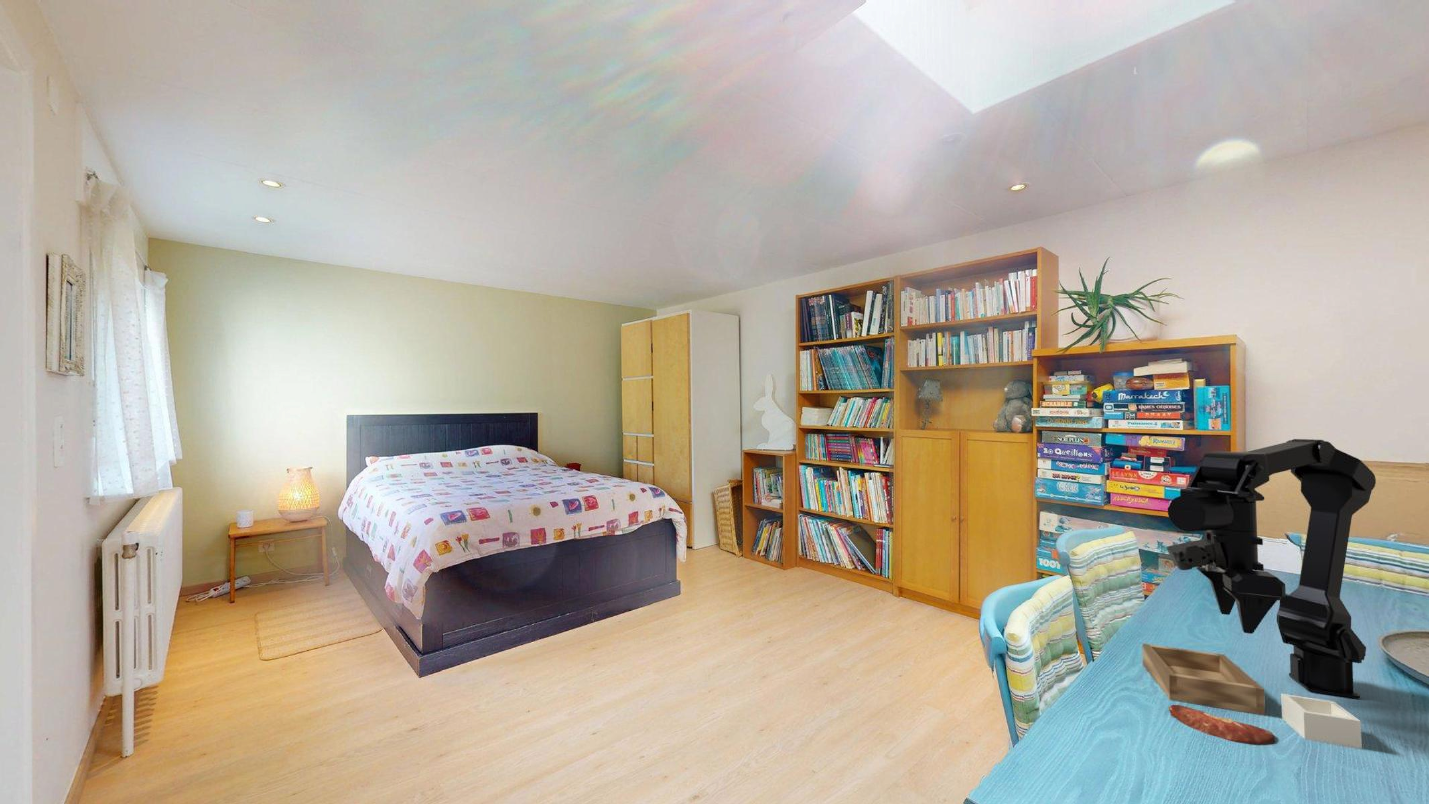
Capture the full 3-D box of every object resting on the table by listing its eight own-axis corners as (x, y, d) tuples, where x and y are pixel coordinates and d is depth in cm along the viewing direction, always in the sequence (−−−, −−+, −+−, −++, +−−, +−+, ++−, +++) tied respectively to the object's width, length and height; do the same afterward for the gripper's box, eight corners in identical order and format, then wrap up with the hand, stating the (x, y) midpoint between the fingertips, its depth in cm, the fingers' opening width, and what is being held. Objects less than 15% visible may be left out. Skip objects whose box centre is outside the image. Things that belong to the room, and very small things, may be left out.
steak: (1172, 694, 90) (1277, 724, 82) (1172, 705, 90) (1277, 737, 81) (1163, 711, 85) (1274, 746, 76) (1164, 723, 85) (1275, 759, 76)
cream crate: (1334, 728, 83) (1333, 701, 83) (1361, 750, 78) (1360, 721, 78) (1281, 719, 86) (1281, 693, 86) (1304, 740, 80) (1303, 712, 80)
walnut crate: (1224, 677, 99) (1224, 654, 99) (1265, 715, 86) (1264, 689, 87) (1142, 665, 104) (1142, 643, 104) (1169, 699, 91) (1169, 674, 91)
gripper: (1156, 515, 103) (1158, 599, 103) (1189, 534, 87) (1192, 635, 86) (1234, 520, 99) (1237, 608, 98) (1285, 541, 82) (1289, 647, 81)
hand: (1235, 623), depth 91 cm, fingers open, 9 cm apart
